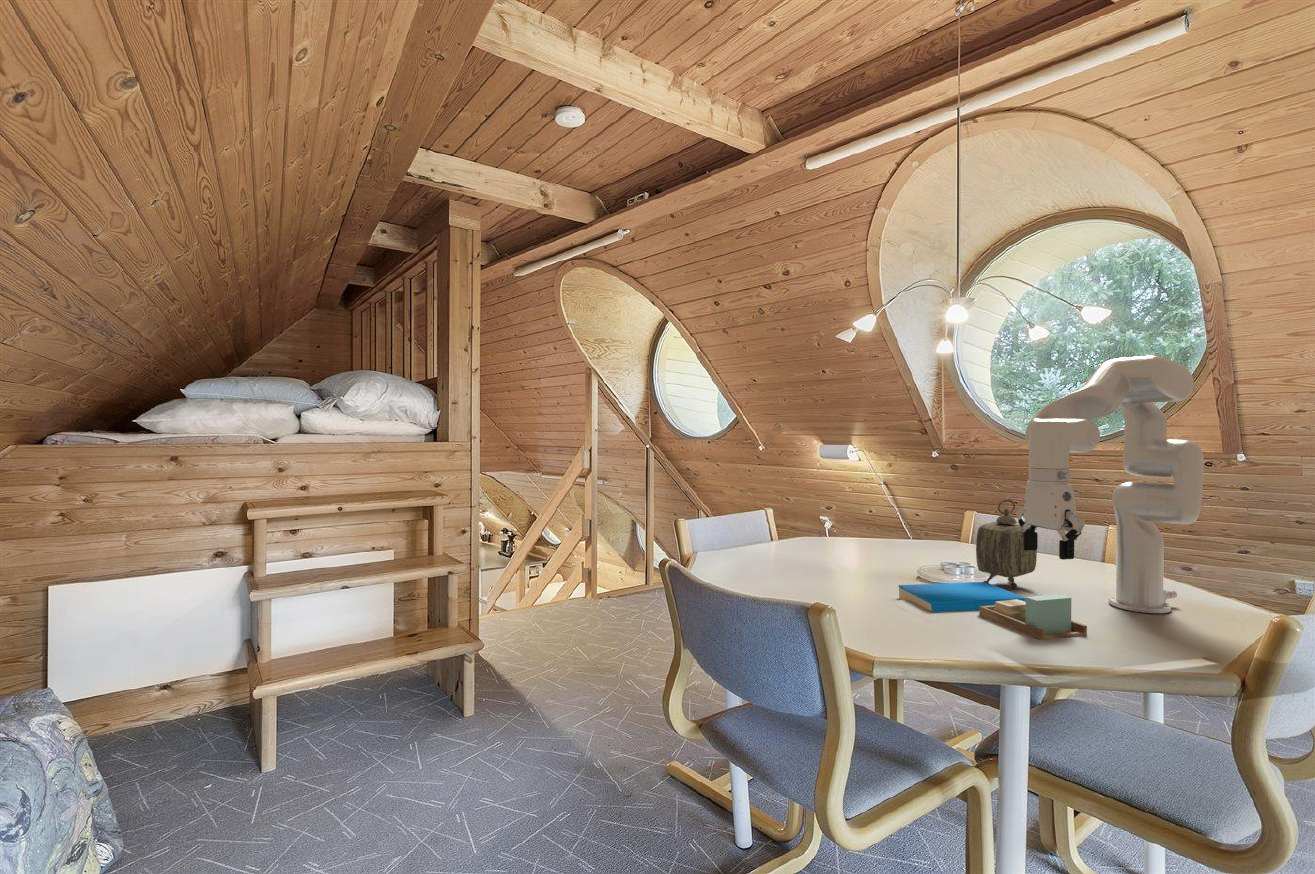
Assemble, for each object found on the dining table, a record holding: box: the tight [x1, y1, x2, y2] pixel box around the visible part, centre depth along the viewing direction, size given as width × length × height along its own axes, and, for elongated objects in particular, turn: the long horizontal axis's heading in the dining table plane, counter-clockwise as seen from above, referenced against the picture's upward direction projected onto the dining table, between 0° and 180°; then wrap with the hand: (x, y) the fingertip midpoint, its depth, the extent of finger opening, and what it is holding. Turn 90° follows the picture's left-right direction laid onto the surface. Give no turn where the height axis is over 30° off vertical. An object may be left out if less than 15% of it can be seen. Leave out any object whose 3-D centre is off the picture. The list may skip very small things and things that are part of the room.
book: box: [898, 581, 1026, 613], centre depth 165 cm, size 17×4×25 cm
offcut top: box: [995, 599, 1026, 614], centre depth 150 cm, size 6×4×2 cm, turn 107°
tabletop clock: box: [975, 498, 1038, 589], centre depth 182 cm, size 14×9×25 cm, turn 115°
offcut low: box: [994, 609, 1026, 621], centre depth 150 cm, size 7×4×2 cm, turn 103°
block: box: [1025, 593, 1072, 635], centre depth 140 cm, size 9×3×8 cm, turn 103°
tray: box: [978, 605, 1088, 641], centre depth 145 cm, size 12×18×3 cm, turn 13°
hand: (1047, 554), depth 140 cm, fingers open, 9 cm apart
